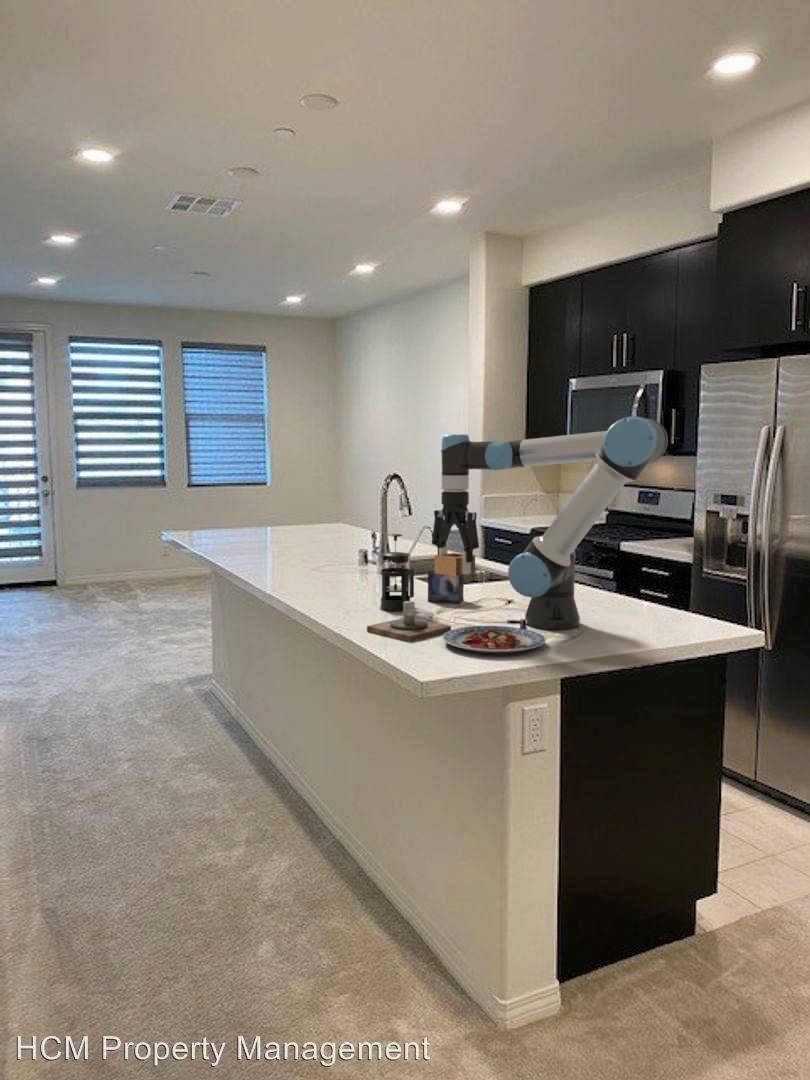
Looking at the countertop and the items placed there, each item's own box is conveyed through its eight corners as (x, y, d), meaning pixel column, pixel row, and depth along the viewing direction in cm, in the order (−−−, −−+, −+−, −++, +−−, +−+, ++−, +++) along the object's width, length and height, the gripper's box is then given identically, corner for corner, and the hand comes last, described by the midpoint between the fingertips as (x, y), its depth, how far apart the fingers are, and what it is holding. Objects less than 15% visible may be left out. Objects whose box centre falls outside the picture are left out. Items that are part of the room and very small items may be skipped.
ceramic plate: (421, 643, 205) (421, 632, 205) (494, 629, 221) (495, 618, 220) (491, 665, 185) (491, 652, 184) (566, 648, 200) (567, 636, 200)
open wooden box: (475, 573, 225) (475, 555, 224) (456, 576, 219) (456, 558, 219) (453, 569, 230) (453, 552, 230) (434, 573, 225) (434, 555, 224)
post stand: (450, 631, 217) (451, 602, 216) (409, 641, 206) (409, 611, 205) (408, 622, 228) (408, 594, 227) (367, 631, 217) (366, 602, 216)
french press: (389, 613, 240) (389, 536, 237) (372, 608, 247) (372, 533, 244) (421, 608, 247) (421, 534, 244) (403, 603, 254) (403, 531, 251)
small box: (426, 602, 257) (427, 569, 256) (432, 598, 263) (432, 566, 262) (458, 604, 253) (459, 571, 252) (464, 600, 260) (464, 568, 258)
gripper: (493, 491, 217) (492, 574, 220) (436, 488, 232) (436, 566, 235) (475, 492, 212) (474, 577, 215) (418, 489, 227) (418, 569, 229)
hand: (454, 572), depth 225 cm, fingers closed on open wooden box, 8 cm apart
